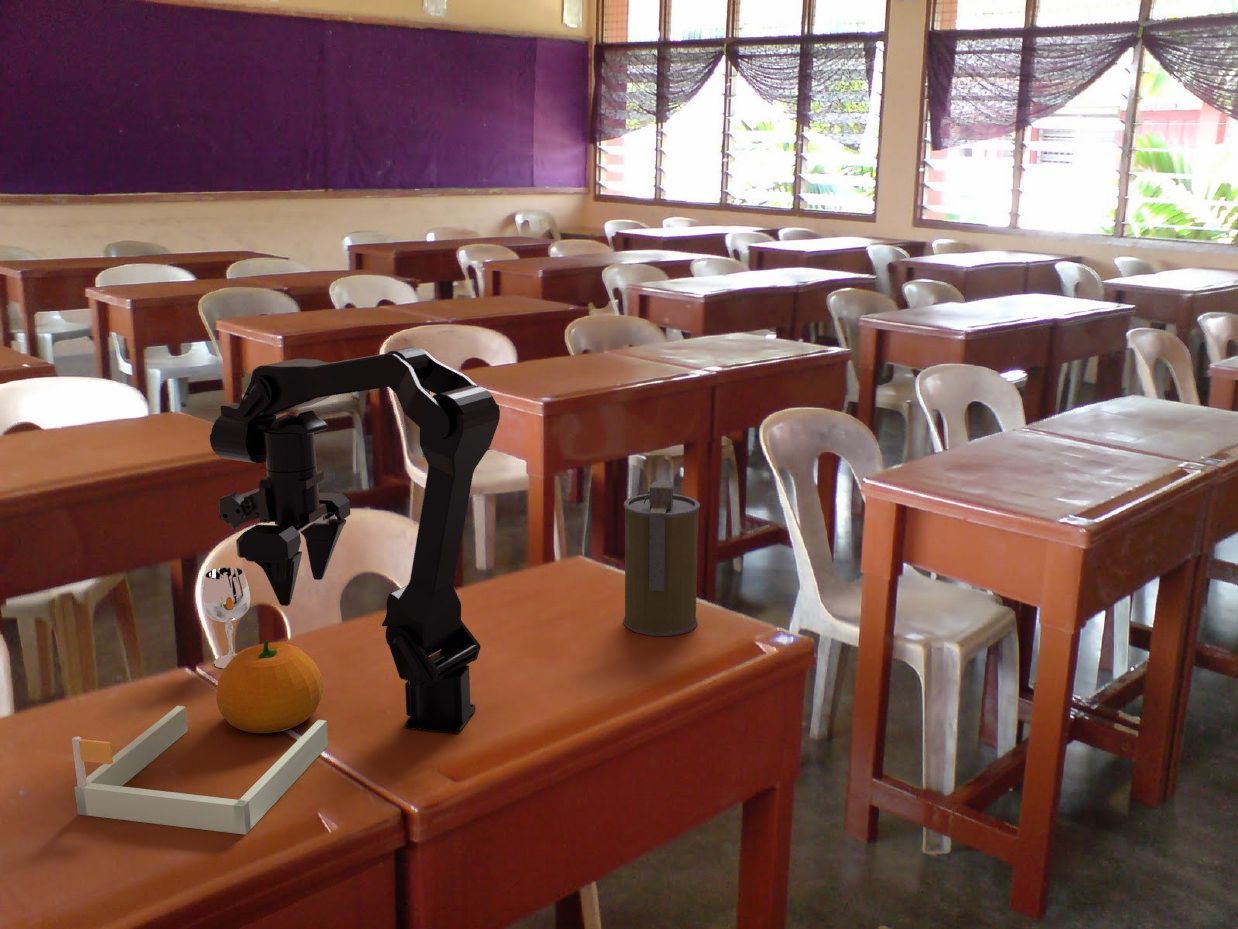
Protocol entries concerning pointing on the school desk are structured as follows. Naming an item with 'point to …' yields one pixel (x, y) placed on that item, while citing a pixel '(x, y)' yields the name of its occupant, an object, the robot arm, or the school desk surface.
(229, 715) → the fruit
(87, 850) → the school desk surface
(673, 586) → the canister
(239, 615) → the wineglass
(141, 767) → the corral
